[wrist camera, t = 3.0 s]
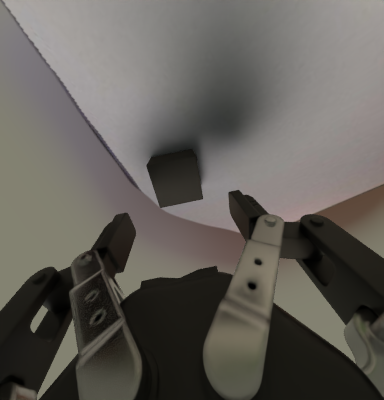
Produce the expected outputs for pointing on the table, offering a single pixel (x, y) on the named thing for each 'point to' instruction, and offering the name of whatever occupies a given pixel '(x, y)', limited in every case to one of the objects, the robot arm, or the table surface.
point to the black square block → (175, 178)
